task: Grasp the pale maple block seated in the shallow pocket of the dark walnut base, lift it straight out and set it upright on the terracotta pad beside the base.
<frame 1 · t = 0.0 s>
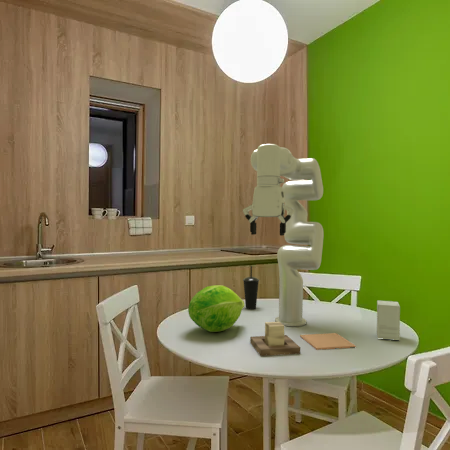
hand: (267, 234, 127), 37 cm above the table, tool pointing down, fingers open, 9 cm apart
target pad: (326, 341, 134), on the table
pocket block: (274, 347, 127), on the table
maple block: (274, 348, 127), resting in pocket block
drinking cup: (250, 308, 182), on the table
supplement box: (387, 338, 140), on the table
lettuce: (218, 330, 146), on the table
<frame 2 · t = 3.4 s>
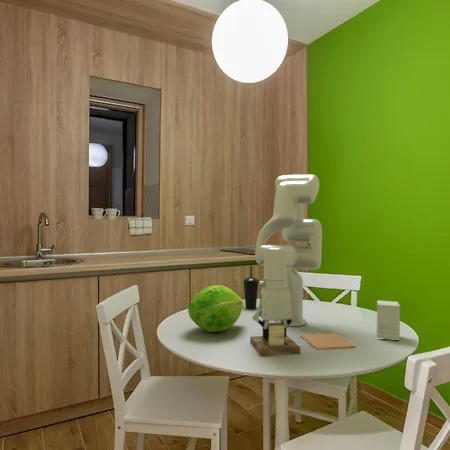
hand: (274, 338, 127), 3 cm above the table, tool pointing down, fingers closed on maple block, 5 cm apart
maple block: (274, 348, 127), resting in pocket block, touching gripper
everything else where it was.
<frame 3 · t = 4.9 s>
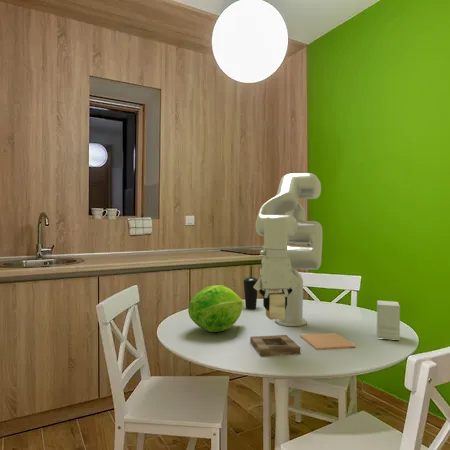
hand: (275, 308, 128), 13 cm above the table, tool pointing down, fingers closed on maple block, 5 cm apart
maple block: (275, 317, 128), point 10 cm above the table, touching gripper
everything else where it was.
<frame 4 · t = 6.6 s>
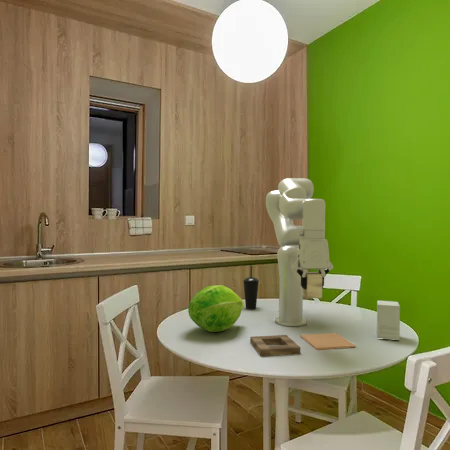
hand: (312, 287, 132), 19 cm above the table, tool pointing down, fingers closed on maple block, 5 cm apart
maple block: (312, 296, 132), point 16 cm above the table, touching gripper
everything else where it was.
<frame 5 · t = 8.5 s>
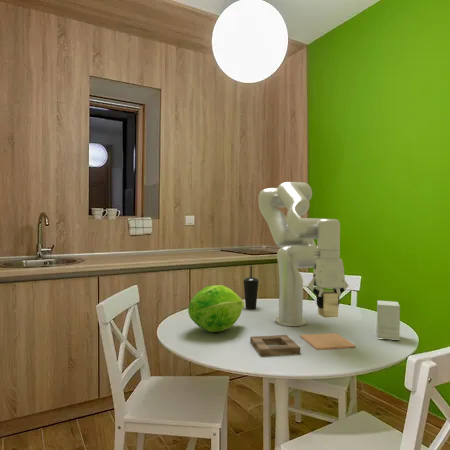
hand: (327, 306, 133), 12 cm above the table, tool pointing down, fingers closed on maple block, 5 cm apart
maple block: (327, 315, 133), point 9 cm above the table, touching gripper
everything else where it was.
when the fingers open (5 cm above the table, at t = 10.1 s): maple block drops 2 cm, resting on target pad.
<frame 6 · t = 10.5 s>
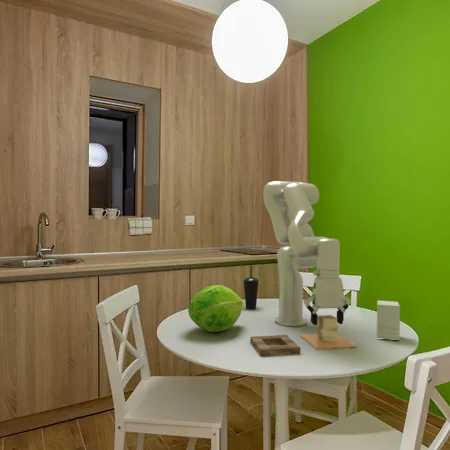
hand: (327, 323, 134), 6 cm above the table, tool pointing down, fingers open, 9 cm apart
maple block: (326, 340, 134), point 1 cm above the table, touching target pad
everything else where it was.
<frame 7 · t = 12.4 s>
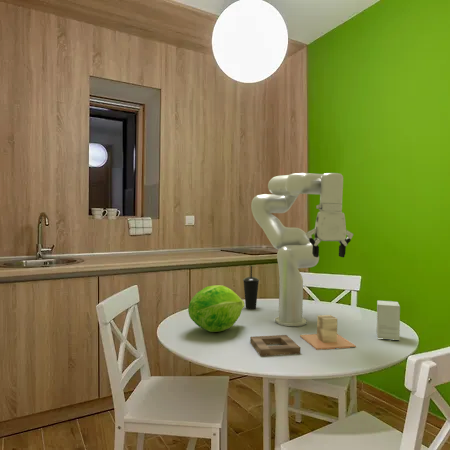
hand: (328, 256, 137), 29 cm above the table, tool pointing down, fingers open, 9 cm apart
nothing on the table moved.
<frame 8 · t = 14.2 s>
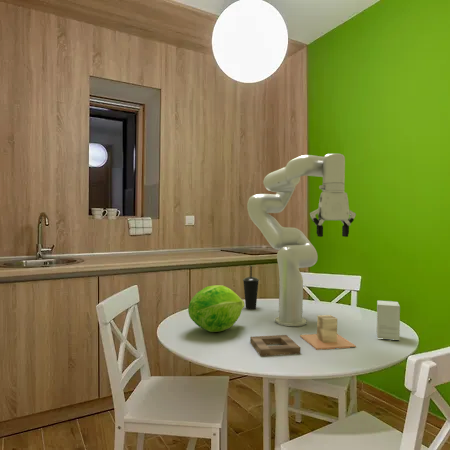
hand: (332, 236, 139), 36 cm above the table, tool pointing down, fingers open, 9 cm apart
nothing on the table moved.
at the end: maple block inside the target area on the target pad (0.0 cm from its centre), point 0.6 cm above the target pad's base; maple block tilted 0°; the gripper is holding nothing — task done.
